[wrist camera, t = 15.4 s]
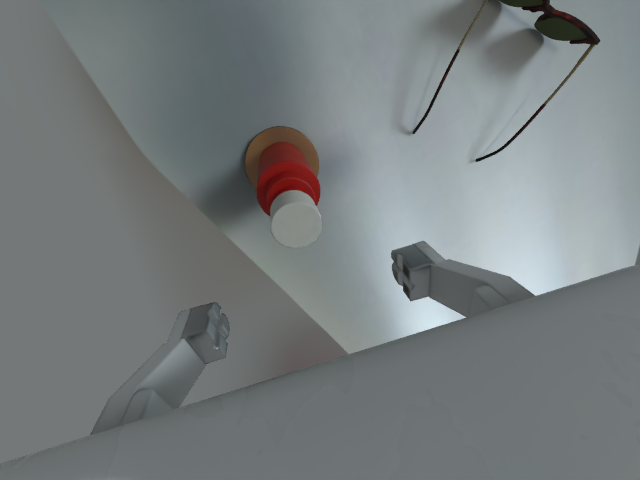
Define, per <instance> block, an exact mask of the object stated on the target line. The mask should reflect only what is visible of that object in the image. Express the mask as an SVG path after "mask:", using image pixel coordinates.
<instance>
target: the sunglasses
mask: <svg viewBox="0 0 640 480" xmlns="http://www.w3.org/2000/svg"><path fill="white" fill-rule="evenodd" d="M487 1H488V0H485V2H484V3H483V5H482V7H481V8H480V10H479V12H478V13H477V15H476V17H475V19H474V20H473V22H472V24H471V25H470V27H469V29H468V31H467V32H466V34H465V36H464V38H463V40H462V41H461V43H460V45H459V47H458V49H457V50H456V52H455V54H454V56H453V58H452V60H451V62H450V64H449V66H448V68H447V70H446V72H445V74H444V76H443V78H442V80H441V82H440V84H439V86H438V89H437V91H436V93H435V95H434V97H433V99H432V101H431V104H430V106H429V108H428V110H427V112H426V113H425V115H424V117H423V118H422V120H421V121H420V122H419V124H418V125H417V127H416V128H415V129H414V131H413V134H415V132H416V131H417V130H418V128H419V127H420V125H421V124H422V123H423V121H424V120H425V118H426V117H427V115H428V113H429V111H430V109H431V107H432V105H433V103H434V101H435V99H436V97H437V95H438V93H439V91H440V89H441V87H442V84H443V82H444V80H445V78H446V76H447V74H448V72H449V70H450V68H451V66H452V64H453V62H454V60H455V59H456V57H457V55H458V53H459V51H460V48H461V46H462V44H463V42H464V40H465V38H466V37H467V35H468V33H469V31H470V30H471V28H472V26H473V24H474V23H475V21H476V19H477V18H478V16H479V14H480V12H481V11H482V9H483V7H484V6H485V4H486V3H487ZM499 1H501V2H502V3H504V4H507V5H509V6H513V7H522V9H523V10H530V11H531V12H537V11H543V12H544V14H543V15H541V16H540V17H539V18H538V19H537V21H536V22H535V24H534V26H535V28H536V29H537V30H538V31H539V32H540V33H542V34H543V35H545V36H547V37H549V38H551V39H554V40H561V41H570V42H569V43H570V44H582V43H586V44H591V45H590V47H589V48H588V49H587V51H586V52H585V53H584V54H583V56H582V57H581V58H580V59H579V61H578V63H577V64H576V65H575V67H574V68H573V69H572V71H571V72H570V73H569V75H568V76H567V77H566V78H565V79H564V81H563V82H562V83H561V84H560V85H559V87H558V88H557V89H556V90H555V91H554V93H553V94H552V95H551V96H550V97H549V98H548V99H547V100H546V101H545V103H544V104H543V105H542V106H541V107H540V108H539V109H538V110H537V111H536V113H535V114H534V115H533V116H532V117H531V118H530V119H529V120H528V121H527V123H526V124H525V125H524V126H523V127H522V128H521V129H520V130H519V131H518V132H517V133H516V134H515V135H514V136H513V137H512V138H511V139H510V140H509V141H508V142H507V143H506V144H505V145H504V146H502V147H501V148H500V149H498V150H497V151H495V152H493V153H490V154H488V155H486V156H484V157H481V158H479V159H476V162H478V161H480V160H483V159H485V158H488V157H490V156H492V155H495V154H497V153H498V152H500V151H501V150H503V149H504V148H505V147H506V146H508V145H509V144H510V143H511V142H512V141H513V140H514V139H515V138H516V137H517V136H518V135H519V134H520V133H521V132H522V131H523V130H524V129H525V128H526V127H527V126H528V125H529V123H530V122H531V121H532V120H533V119H534V118H535V117H536V116H537V115H538V113H539V112H540V111H541V110H542V109H543V108H544V107H545V105H546V104H547V103H548V102H549V101H550V100H551V99H552V97H553V96H554V95H555V94H556V93H557V92H558V90H559V89H560V88H561V87H562V86H563V85H564V83H565V82H566V81H567V80H568V79H569V77H570V76H571V75H572V74H573V72H574V71H575V70H576V69H577V68H578V66H579V65H580V64H581V63H582V62H583V61H584V59H585V58H586V57H587V55H588V54H589V53H590V51H591V50H592V49H593V47H594V46H595V45H597V44H598V43H599V42H600V39H599V38H598V37H597V35H596V34H595V33H594V32H593V31H592V30H591V28H589V27H588V26H587V25H586V24H585V23H583V22H582V21H581V20H579V19H577V18H576V17H574V16H572V15H570V14H567V13H565V12H561V11H558V10H555V9H554V8H553V7H552V6H551V5H550V0H499Z"/></svg>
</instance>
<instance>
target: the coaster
mask: <svg viewBox="0 0 640 480" xmlns="http://www.w3.org/2000/svg"><path fill="white" fill-rule="evenodd" d="M278 142H286V143H290V144H292V145H294V146H295V147H297V148H298V149H299V150H300V151H301V153H302V154H303V156H304V158H305V159H306V161H307V163H308V164H309V166H310V167H311V169H312V171H313V172H314V174H315V175H316V177H317V175H318V170H319V160H318V155H317V152H316V150H315V148H314V146H313V144H312V143H311V141H310V140H309V139H308V138H307V137H306V136H305V135H304V134H302V133H301V132H299V131H298V130H295V129H293V128H290V127H284V126H277V127H271V128H268V129H266V130H264V131H262V132H261V133H259V134H258V135H257V136H256V137H255V138H254V139H253V140H252V142H251V143H250V145H249V147H248V150H247V152H246V157H245V168H246V173H247V176H248V178H249V181H250V182H251V184H252V185H253V187H254V188H255V189H256V190H257V181H258V172H259V163H260V158H261V155H262V153H263V152H264V150H265V149H266V148H267V147H268V146H270V145H272V144H274V143H278Z"/></svg>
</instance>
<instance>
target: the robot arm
mask: <svg viewBox="0 0 640 480" xmlns="http://www.w3.org/2000/svg"><path fill="white" fill-rule="evenodd" d="M391 258H392V259H393V260H394V263H393V264H392V271H393V275H394V277H395V279H396V281H397V283H398V284H399V285H402V286H403V291H404V293H405V294H406V295H407V297H408V298H409V299H410V301H413V300H417V299H421V298H424V297H428V296H429V297H430V298H432V299H434V300H435V301H437V302H439V303H441V304H443V305H445V306H447V307H449V308H450V309H452V310H454V311H456V312H458V313H460V314H462V315H463V316H465V317H467V318H464V319H461V320H458V321H454V322H451V323H448V324H445V325H442V326H438V327H435V328H432V329H429V330H426V331H422V332H419V333H416V334H413V335H410V336H406V337H403V338H400V339H397V340H394V341H390V342H387V343H384V344H381V345H378V346H374V347H371V348H368V349H365V350H362V351H358V352H355V353H352V354H349V355H346V356H342V357H339V358H336V359H333V360H330V361H327V362H323V363H320V364H317V365H314V366H311V367H307V368H305V369H301V370H298V371H295V372H291V373H288V374H285V375H282V376H279V377H276V378H272V379H269V380H266V381H263V382H259V383H256V384H253V385H250V386H247V387H244V388H240V389H237V390H234V391H231V392H227V393H225V394H221V395H218V396H215V397H212V398H208V399H205V400H202V401H199V402H196V403H192V404H189V405H186V406H183V407H180V405H181V404H182V402H183V401H184V399H185V398H186V396H187V394H188V393H189V391H190V390H191V388H192V387H193V385H194V383H195V382H196V380H197V379H198V377H199V376H200V374H201V372H202V371H203V369H204V368H205V366H206V364H208V363H211V362H214V361H217V360H220V359H223V358H226V352H227V345H228V343H227V342H226V338H227V337H228V336H229V332H230V326H229V321H228V318H227V317H226V315H225V314H223V313H221V312H220V309H221V307H220V305H219V304H218V303H217V302H213V303H209V304H206V305H202V306H198V307H194V308H191V309H188V310H184V311H181V312H180V313H179V314H178V317H177V319H176V322H175V324H174V327H173V329H172V332H171V334H170V337H169V339H168V342H167V343H165V344H163V345H162V346H161V347H160V348H159V349H158V350H157V351H156V352H155V353H154V354H153V355H152V356H151V357H150V358H149V359H148V360H147V361H146V362H145V363H144V364H143V365H142V366H141V367H140V368H139V369H138V370H137V371H136V372H135V373H134V374H133V375H132V376H131V377H130V378H129V379H128V380H127V381H126V382H125V383H124V384H123V385H122V386H121V387H120V388H119V389H118V390H117V391H116V392H115V393H114V394H113V395H112V396H111V397H110V398H109V399H108V401H107V403H106V405H105V407H104V409H103V411H102V413H101V415H100V417H99V418H98V420H97V422H96V424H95V426H94V428H93V430H92V432H91V434H90V436H87V437H84V438H81V439H77V440H74V441H71V442H68V443H65V444H62V445H58V446H55V447H52V448H49V449H46V450H42V451H39V452H36V453H33V454H30V455H26V456H24V457H20V458H17V459H14V460H11V461H7V462H4V463H1V464H0V480H640V265H636V266H631V267H627V268H623V269H620V270H617V271H614V272H610V273H607V274H604V275H601V276H598V277H595V278H591V279H588V280H585V281H582V282H579V283H576V284H572V285H569V286H566V287H563V288H560V289H556V290H553V291H550V292H547V293H544V294H541V295H537V296H535V295H534V294H532V293H531V292H530V291H528V290H527V289H525V288H524V287H523V286H521V285H520V284H519V283H517V282H516V281H515V280H513V279H512V278H511V277H509V276H505V275H502V274H498V273H495V272H491V271H488V270H484V269H481V268H478V267H474V266H471V265H467V264H464V263H460V262H457V261H453V260H450V259H448V260H445V259H444V258H443V257H442V256H441V255H439V254H438V253H437V252H436V251H435V250H434V249H433V248H432V247H431V246H429V245H428V244H427V243H426V242H425V241H421V242H418V243H415V244H412V245H409V246H406V247H402V248H399V249H396V250H392V252H391ZM179 407H180V408H179Z"/></svg>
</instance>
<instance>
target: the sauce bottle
mask: <svg viewBox="0 0 640 480" xmlns="http://www.w3.org/2000/svg"><path fill="white" fill-rule="evenodd" d="M319 198H320V185H319V181H318V179H317V177H316V175H315V174H314V172H313V171H312V169H311V167H310V166H309V164H308V163H307V161H306V159H305V158H304V156H303V154H302V153H301V151H300V150H299V149H298V148H297V147H295V146H294V145H292V144H290V143H286V142H278V143H274V144H272V145H270V146H268V147H267V148H266V149H265V150H264V152H263V153H262V155H261V158H260V163H259V172H258V181H257V199H258V202H259V204H260V206H261V208H262V209H263V211H264V212H265V213H266V214H267V215H269V216H270V225H271V232H272V235H273V237H274V238H275V239H276V241H277V242H279V243H280V244H281V245H283V246H286V247H289V248H302V247H305V246H307V245H309V244H311V243H312V242H314V241H315V240H316V239H317V237H318V236H319V234H320V232H321V229H322V219H321V216H320V214H319V212H318V209H317V207H316V206H317V204H318V202H319Z"/></svg>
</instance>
